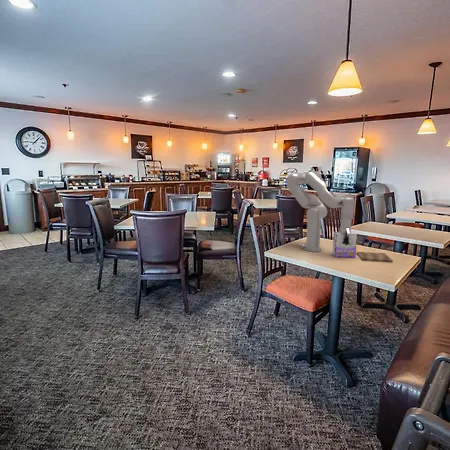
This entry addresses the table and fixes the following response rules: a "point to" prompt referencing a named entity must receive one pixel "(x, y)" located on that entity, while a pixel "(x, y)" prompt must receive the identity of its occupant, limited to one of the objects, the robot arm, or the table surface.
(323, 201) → the robot arm
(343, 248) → the candy box
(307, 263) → the table surface
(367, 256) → the serving board
